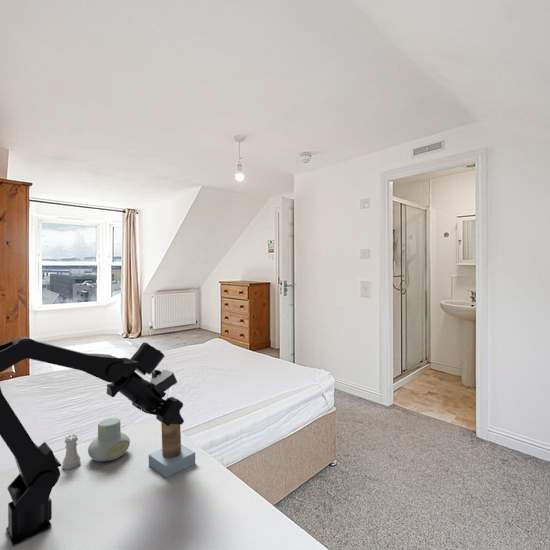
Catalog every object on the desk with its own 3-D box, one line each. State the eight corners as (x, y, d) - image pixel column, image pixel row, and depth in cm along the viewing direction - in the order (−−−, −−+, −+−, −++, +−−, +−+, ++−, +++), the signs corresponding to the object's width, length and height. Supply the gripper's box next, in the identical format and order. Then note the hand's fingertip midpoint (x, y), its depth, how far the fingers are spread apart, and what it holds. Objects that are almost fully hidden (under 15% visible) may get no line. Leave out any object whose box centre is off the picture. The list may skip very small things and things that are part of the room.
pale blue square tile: (166, 477, 86) (165, 466, 86) (148, 465, 92) (148, 454, 92) (195, 463, 93) (195, 452, 93) (177, 452, 99) (177, 442, 99)
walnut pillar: (174, 459, 89) (172, 407, 89) (158, 456, 91) (156, 405, 90) (184, 449, 94) (183, 400, 94) (169, 447, 95) (167, 399, 95)
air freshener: (100, 469, 90) (99, 432, 90) (82, 461, 94) (82, 426, 95) (134, 451, 100) (134, 417, 100) (117, 444, 104) (117, 412, 104)
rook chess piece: (84, 461, 94) (84, 433, 94) (73, 470, 90) (73, 440, 90) (69, 460, 95) (69, 432, 95) (57, 469, 90) (57, 440, 90)
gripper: (176, 369, 83) (212, 401, 91) (142, 357, 96) (177, 386, 104) (145, 409, 78) (187, 440, 85) (114, 392, 90) (153, 420, 98)
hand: (176, 419), depth 93 cm, fingers open, 7 cm apart
